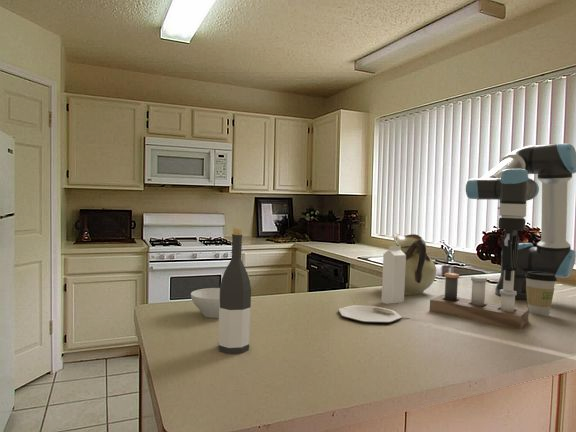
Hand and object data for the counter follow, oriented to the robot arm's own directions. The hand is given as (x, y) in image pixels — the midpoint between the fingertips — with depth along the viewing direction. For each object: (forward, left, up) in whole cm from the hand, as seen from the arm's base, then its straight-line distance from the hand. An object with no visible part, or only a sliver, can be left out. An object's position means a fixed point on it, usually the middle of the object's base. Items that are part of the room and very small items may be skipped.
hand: (508, 290), depth 131 cm
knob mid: (0, -9, -6) cm, 11 cm away
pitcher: (-22, -43, -12) cm, 50 cm away
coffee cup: (-24, +5, -12) cm, 27 cm away
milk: (+2, -39, -12) cm, 41 cm away
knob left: (0, 0, -9) cm, 9 cm away
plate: (+25, -36, -12) cm, 45 cm away
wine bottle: (+78, -44, -12) cm, 90 cm away
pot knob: (0, -18, -6) cm, 19 cm away
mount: (0, -9, -11) cm, 14 cm away
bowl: (+62, -71, -12) cm, 95 cm away
